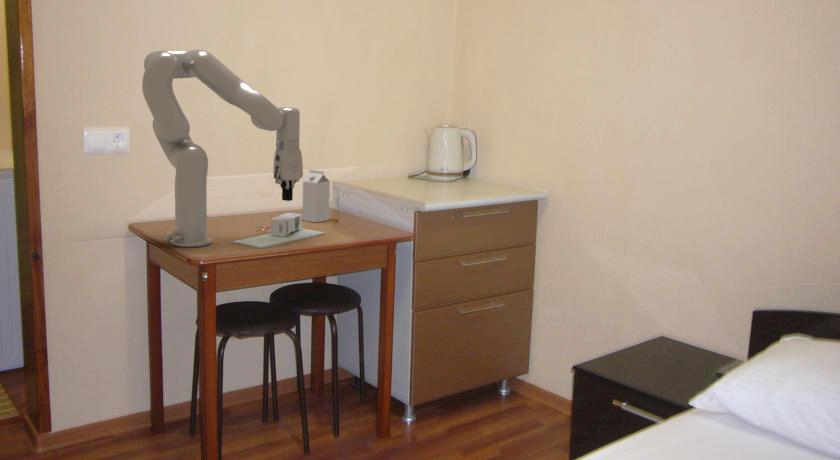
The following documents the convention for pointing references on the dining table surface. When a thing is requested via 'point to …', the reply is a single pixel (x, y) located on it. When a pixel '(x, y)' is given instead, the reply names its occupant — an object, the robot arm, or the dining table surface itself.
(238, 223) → the dining table surface
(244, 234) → the dining table surface
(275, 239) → the mat
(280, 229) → the syrup box
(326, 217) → the milk carton
